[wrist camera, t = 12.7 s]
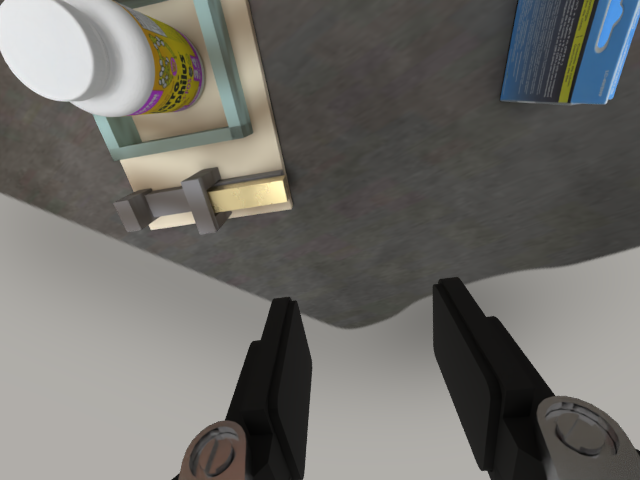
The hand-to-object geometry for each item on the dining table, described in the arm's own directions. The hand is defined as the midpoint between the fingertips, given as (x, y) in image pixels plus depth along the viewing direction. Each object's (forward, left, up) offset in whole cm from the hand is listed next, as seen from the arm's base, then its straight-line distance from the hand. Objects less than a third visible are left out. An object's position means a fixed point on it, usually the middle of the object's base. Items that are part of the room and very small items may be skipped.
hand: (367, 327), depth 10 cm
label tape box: (-8, +17, -24) cm, 30 cm away
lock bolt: (0, -10, -20) cm, 23 cm away
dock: (-7, -14, -23) cm, 28 cm away
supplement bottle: (-11, -14, -22) cm, 29 cm away
